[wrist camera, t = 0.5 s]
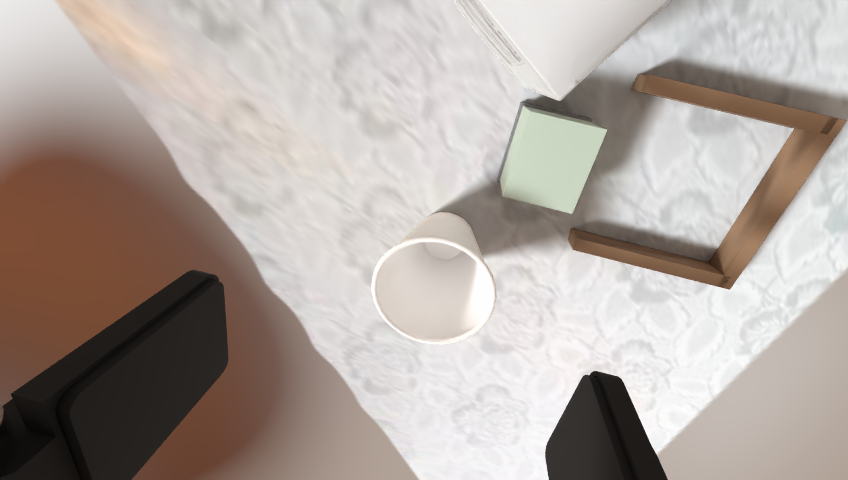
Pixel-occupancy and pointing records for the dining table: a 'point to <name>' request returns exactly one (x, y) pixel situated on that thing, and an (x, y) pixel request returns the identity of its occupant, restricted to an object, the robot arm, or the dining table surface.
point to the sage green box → (549, 157)
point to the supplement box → (556, 36)
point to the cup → (435, 282)
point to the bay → (761, 208)
